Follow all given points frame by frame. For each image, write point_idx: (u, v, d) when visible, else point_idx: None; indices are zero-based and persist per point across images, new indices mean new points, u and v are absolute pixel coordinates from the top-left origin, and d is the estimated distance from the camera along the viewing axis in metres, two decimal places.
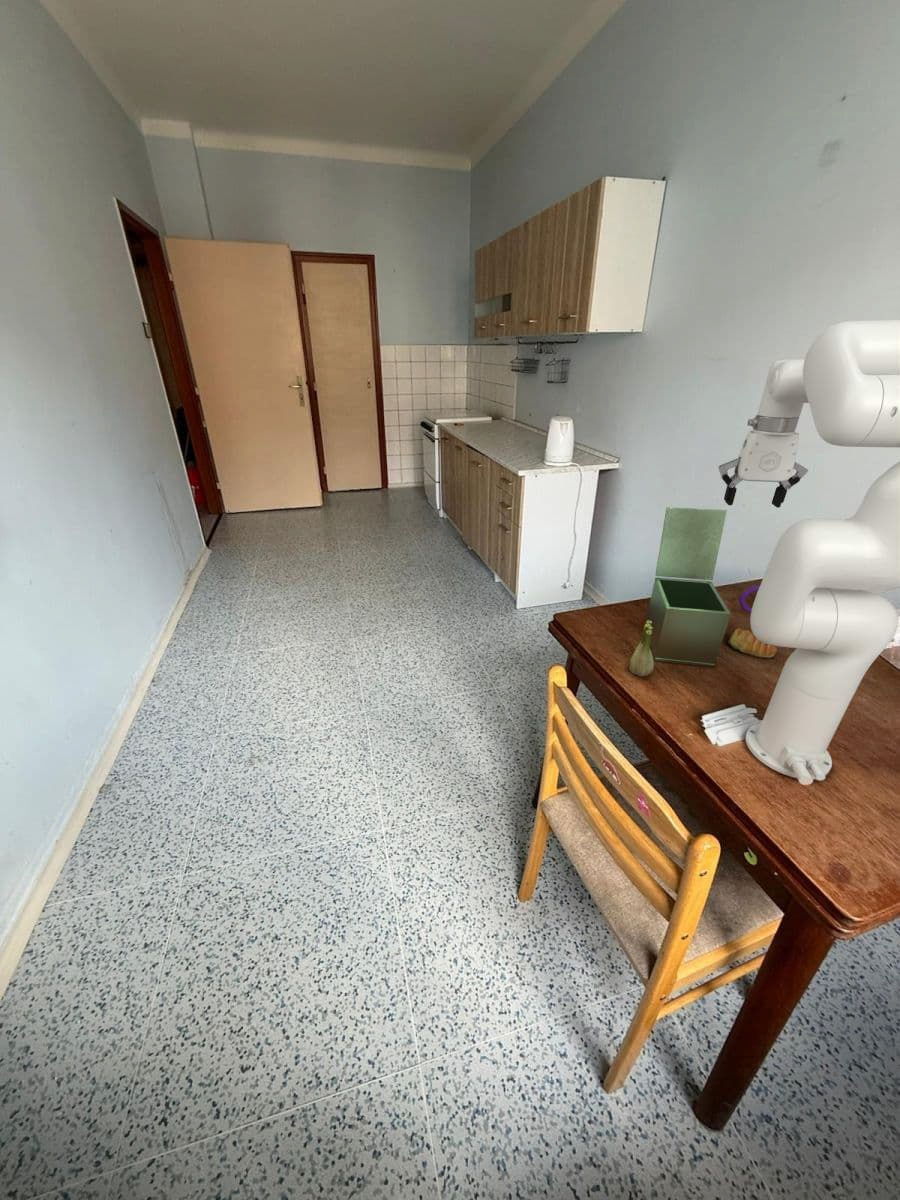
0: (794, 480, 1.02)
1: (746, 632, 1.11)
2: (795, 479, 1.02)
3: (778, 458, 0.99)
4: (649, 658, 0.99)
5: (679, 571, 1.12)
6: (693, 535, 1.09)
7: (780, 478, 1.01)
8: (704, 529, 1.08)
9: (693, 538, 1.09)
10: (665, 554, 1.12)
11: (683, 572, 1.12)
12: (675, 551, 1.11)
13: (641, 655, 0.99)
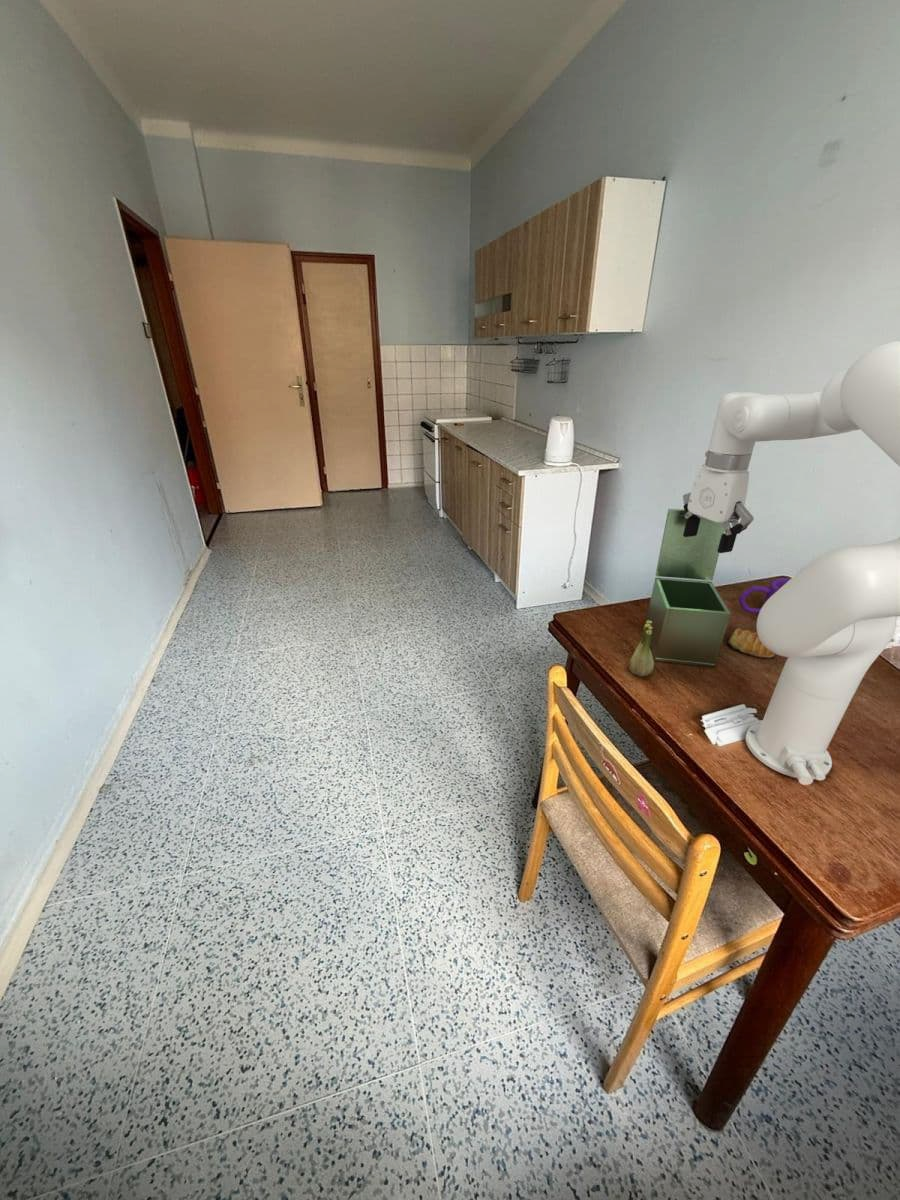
0: (736, 527, 0.91)
1: (746, 632, 1.11)
2: (736, 526, 0.91)
3: (713, 495, 0.93)
4: (649, 658, 0.99)
5: (679, 571, 1.12)
6: (694, 537, 1.08)
7: (714, 518, 0.93)
8: (706, 531, 1.07)
9: (694, 540, 1.08)
10: (666, 555, 1.11)
11: (683, 572, 1.12)
12: (676, 552, 1.10)
13: (641, 655, 0.99)
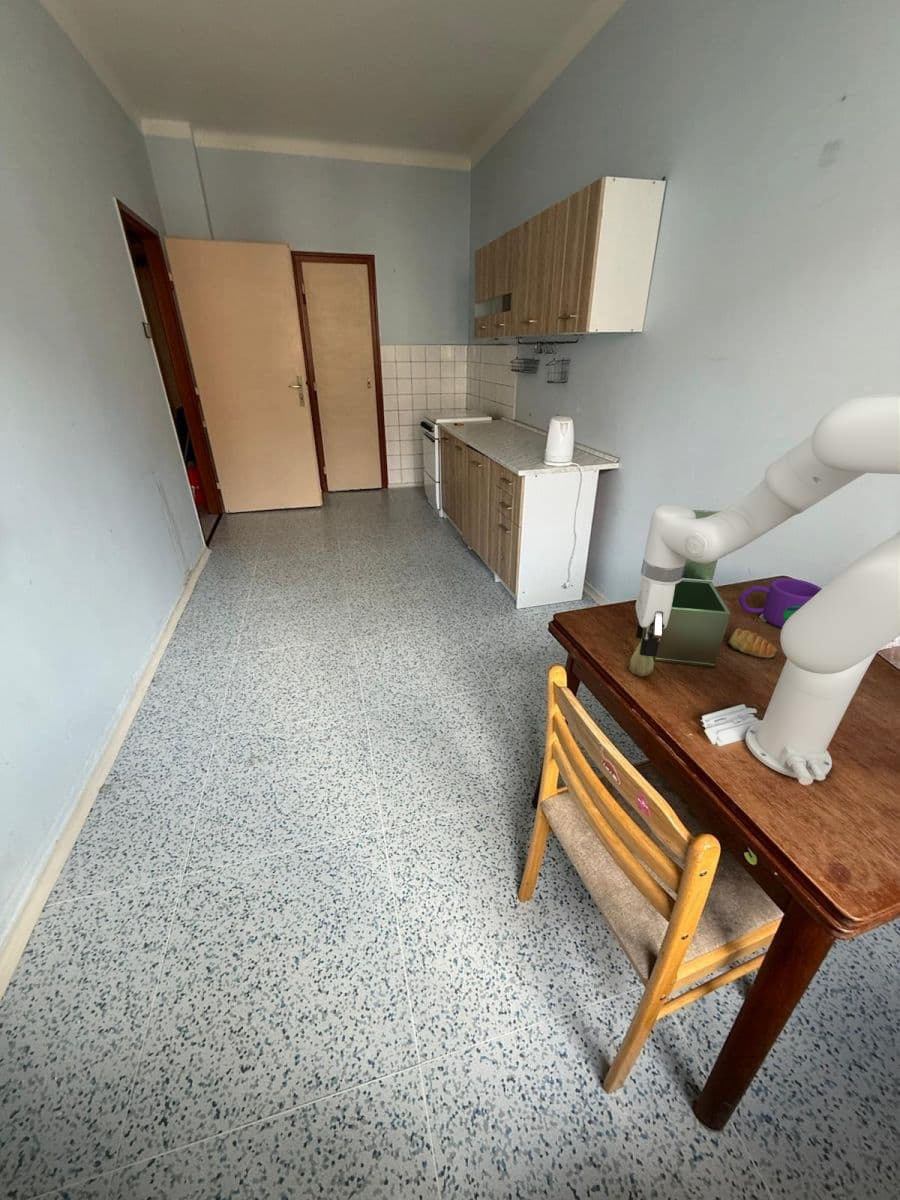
0: (649, 634, 0.94)
1: (746, 632, 1.11)
2: (650, 634, 0.93)
3: (642, 599, 0.94)
4: (648, 658, 0.99)
5: None
6: None
7: (639, 621, 0.95)
8: None
9: None
10: None
11: (683, 572, 1.12)
12: None
13: (641, 655, 0.99)
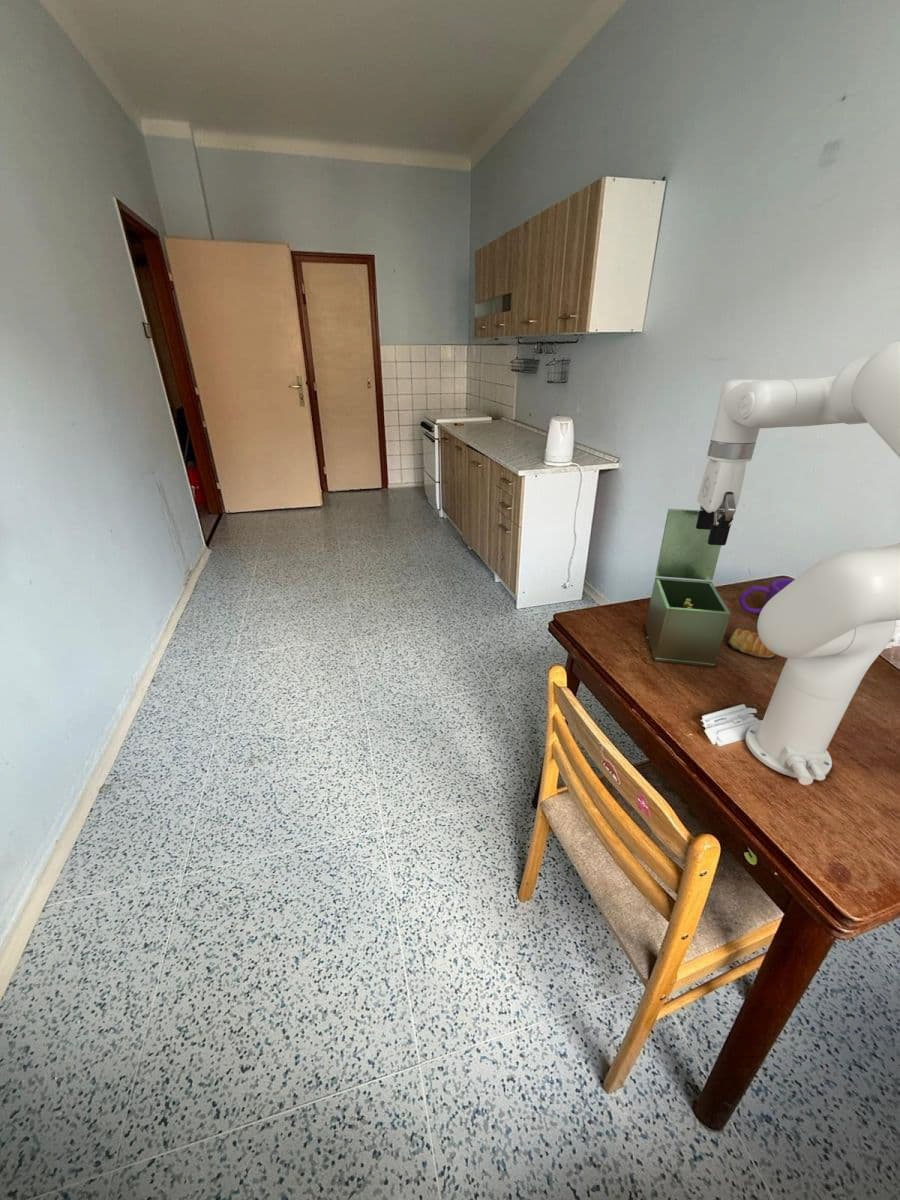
0: (721, 517, 0.89)
1: (746, 632, 1.11)
2: None
3: (708, 484, 0.92)
4: None
5: (679, 571, 1.12)
6: (694, 537, 1.08)
7: (706, 507, 0.92)
8: (706, 531, 1.07)
9: (694, 540, 1.08)
10: (666, 555, 1.11)
11: (683, 572, 1.12)
12: (676, 552, 1.10)
13: None
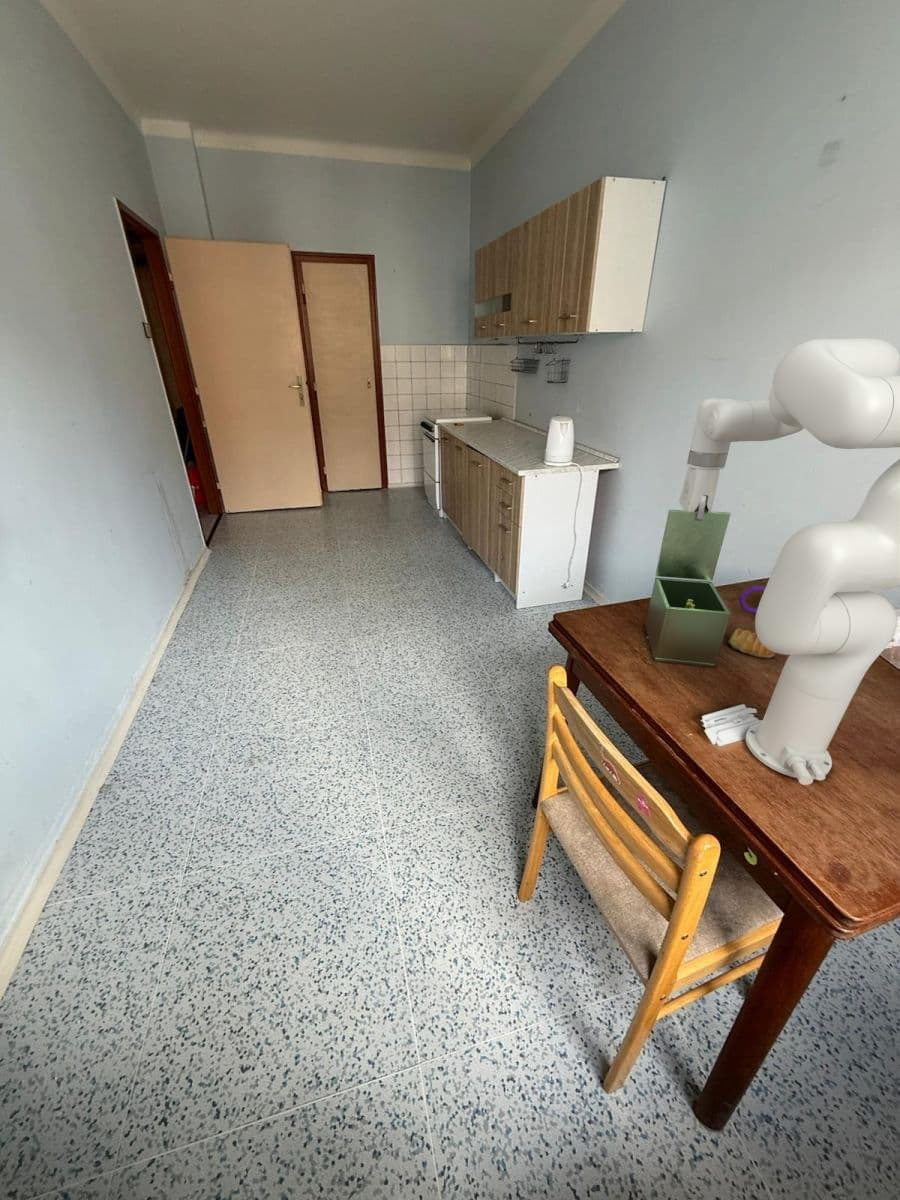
0: None
1: (746, 632, 1.11)
2: None
3: (688, 488, 1.05)
4: None
5: (679, 572, 1.12)
6: (695, 537, 1.07)
7: (685, 508, 1.06)
8: (706, 532, 1.06)
9: (695, 540, 1.08)
10: (666, 555, 1.11)
11: (683, 573, 1.12)
12: (676, 553, 1.10)
13: None
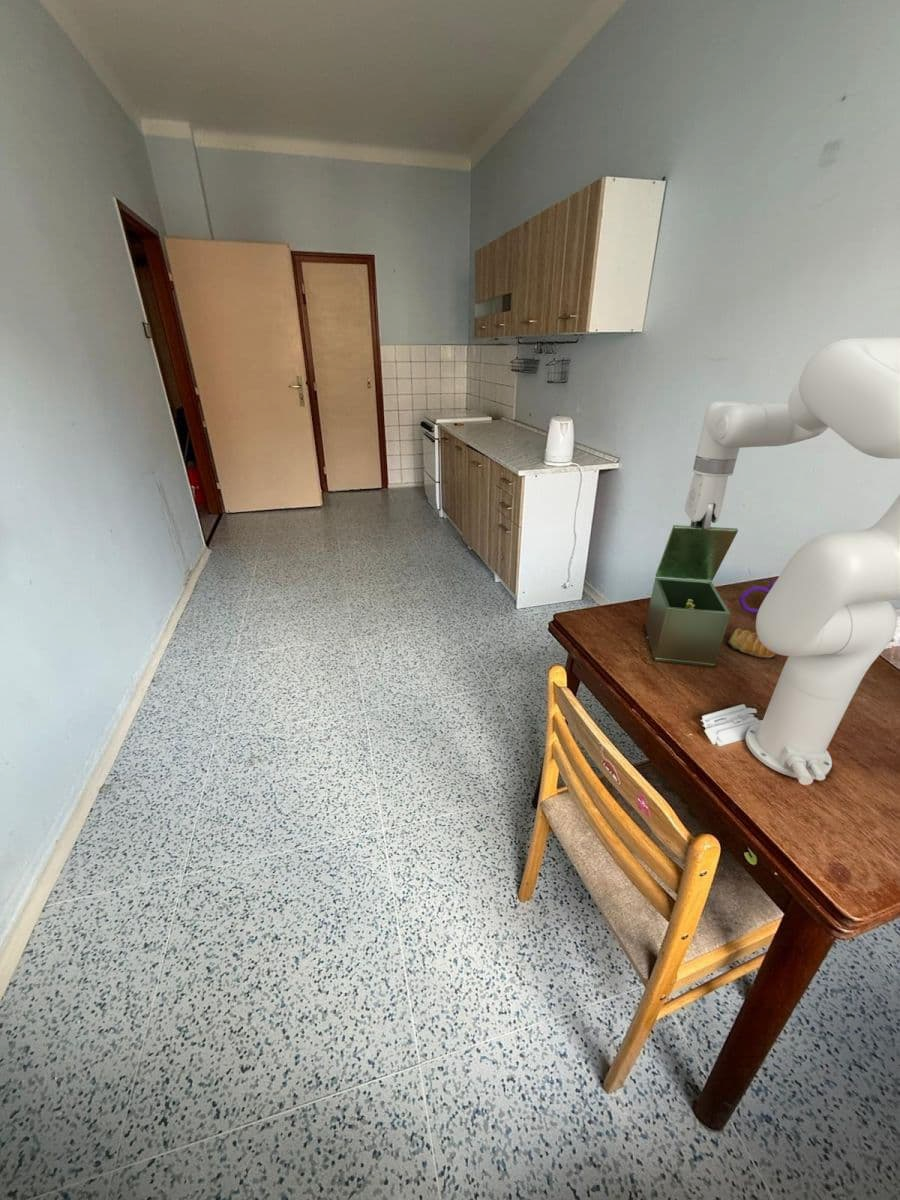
0: (698, 525, 1.02)
1: (746, 632, 1.11)
2: (698, 524, 1.02)
3: (694, 495, 1.00)
4: None
5: (679, 574, 1.12)
6: (698, 549, 1.04)
7: (691, 517, 1.01)
8: (711, 545, 1.03)
9: (698, 551, 1.05)
10: (667, 562, 1.09)
11: (683, 575, 1.11)
12: (677, 560, 1.08)
13: None
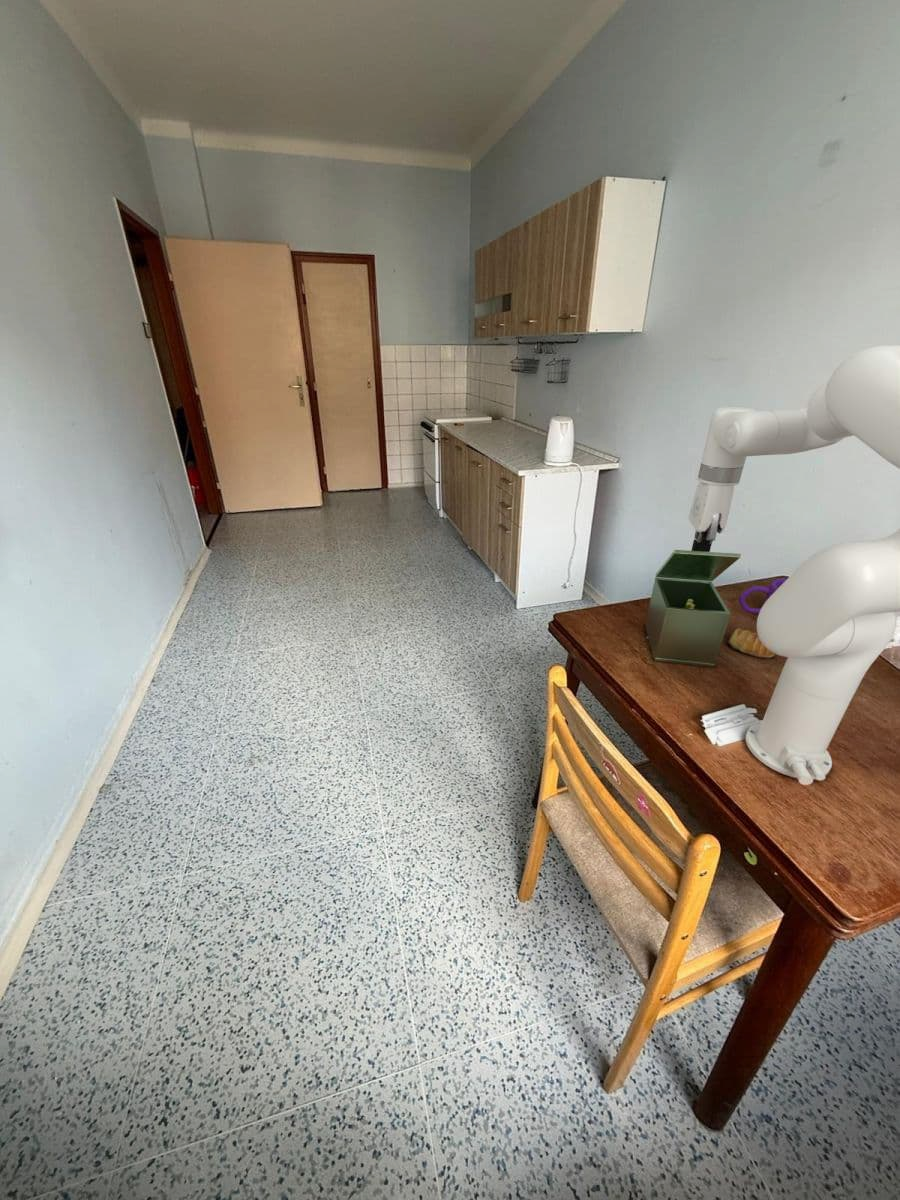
0: (703, 535, 0.98)
1: (746, 632, 1.11)
2: (703, 535, 0.98)
3: (699, 505, 0.96)
4: None
5: (679, 576, 1.11)
6: (699, 565, 1.03)
7: (696, 527, 0.97)
8: (712, 563, 1.01)
9: (698, 566, 1.03)
10: (667, 570, 1.08)
11: (683, 577, 1.11)
12: (678, 569, 1.07)
13: None
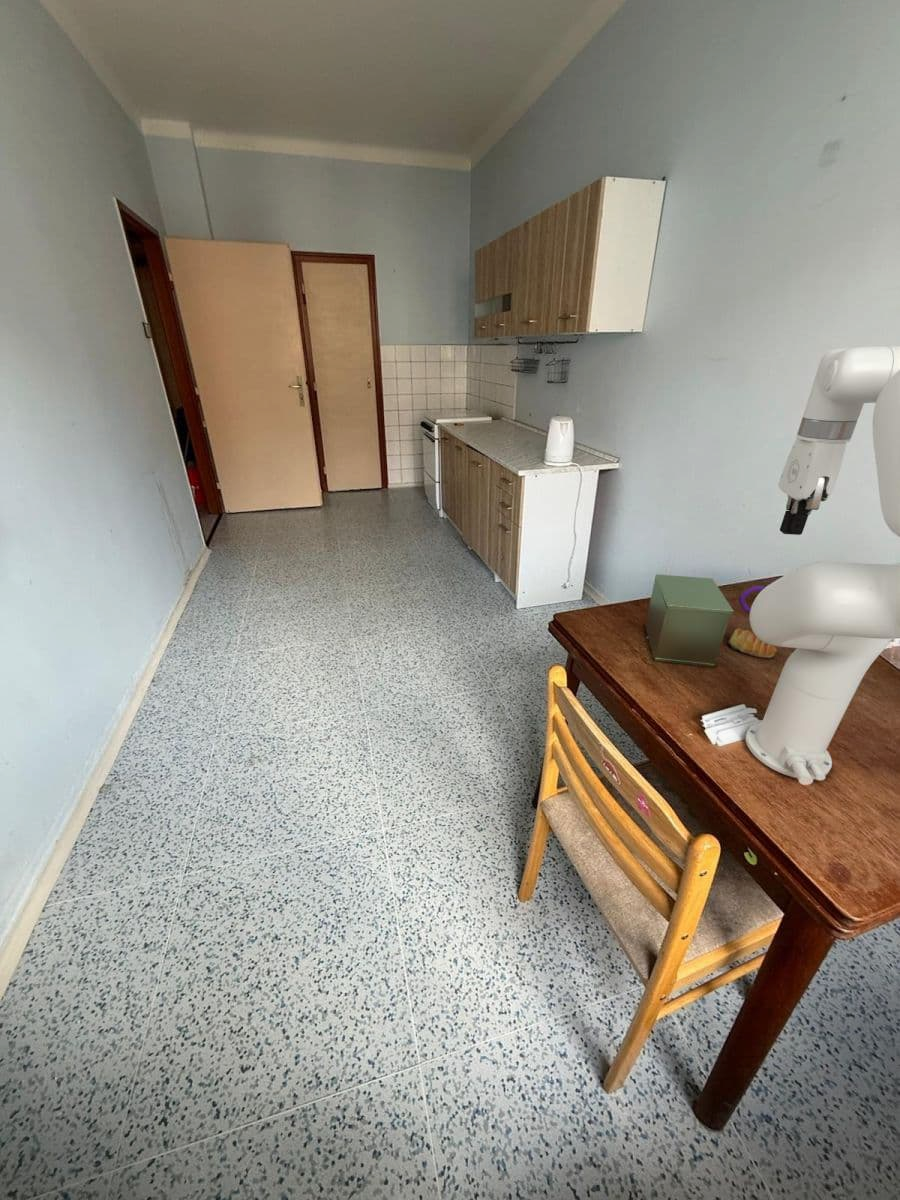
0: None
1: (746, 632, 1.11)
2: (801, 504, 0.84)
3: (798, 468, 0.82)
4: None
5: None
6: None
7: (794, 494, 0.83)
8: None
9: None
10: None
11: None
12: None
13: None
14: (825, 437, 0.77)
